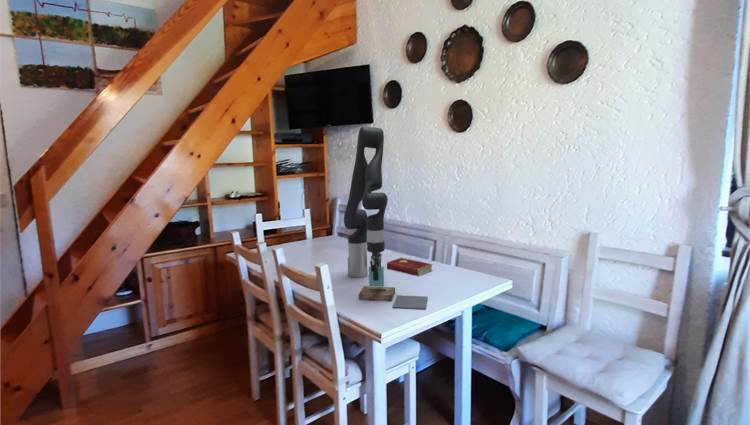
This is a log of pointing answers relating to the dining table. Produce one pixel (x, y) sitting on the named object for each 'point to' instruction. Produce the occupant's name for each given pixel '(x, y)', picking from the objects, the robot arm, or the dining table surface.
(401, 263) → the hardcover book
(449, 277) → the dining table surface
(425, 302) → the mat
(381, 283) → the teal rectangular prism
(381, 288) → the brown wooden frame
